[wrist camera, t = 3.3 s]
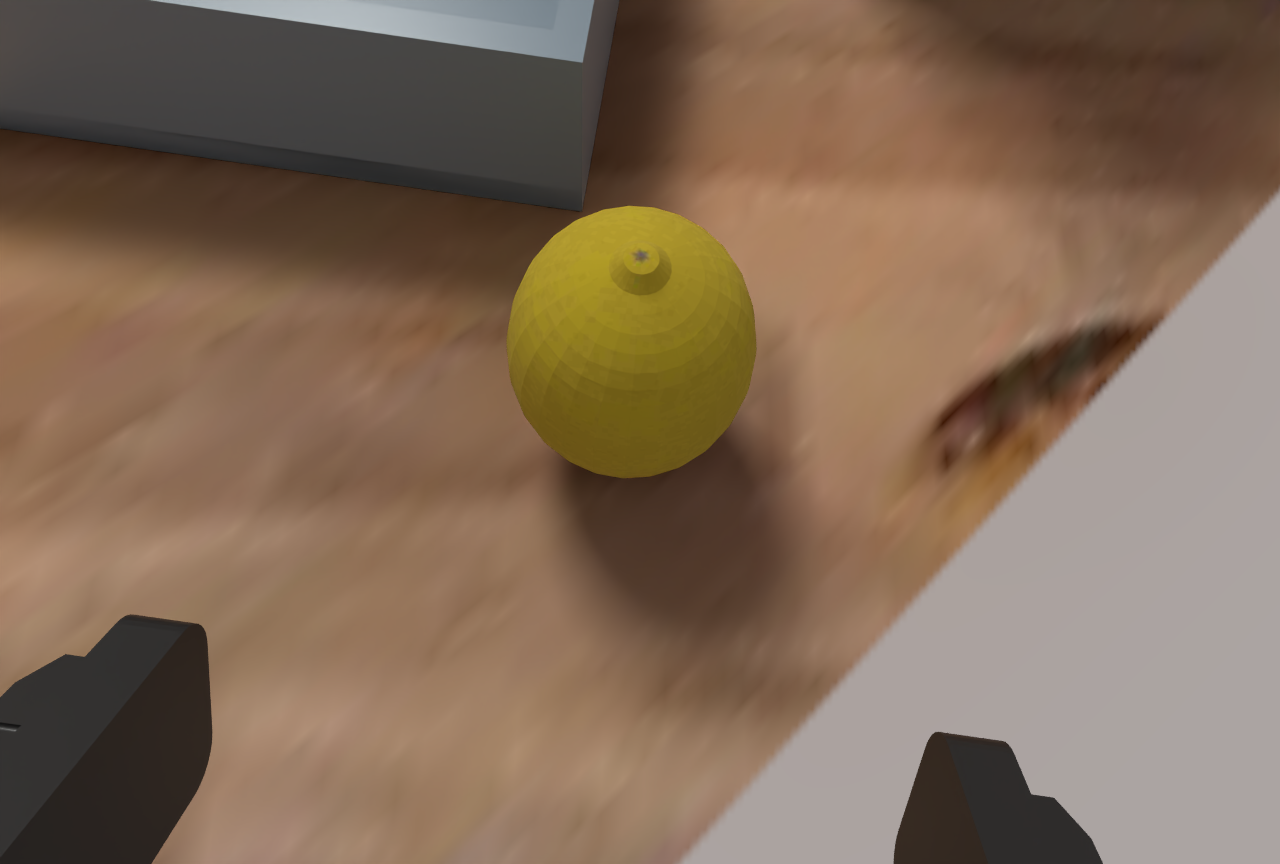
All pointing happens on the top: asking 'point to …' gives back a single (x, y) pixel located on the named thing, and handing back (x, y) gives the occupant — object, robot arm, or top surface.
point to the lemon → (631, 341)
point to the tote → (325, 86)
